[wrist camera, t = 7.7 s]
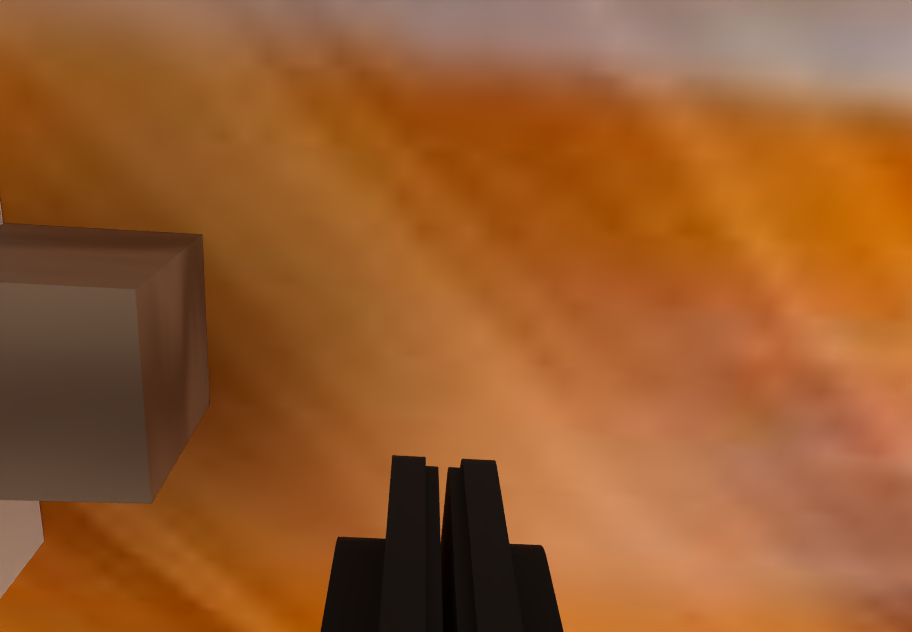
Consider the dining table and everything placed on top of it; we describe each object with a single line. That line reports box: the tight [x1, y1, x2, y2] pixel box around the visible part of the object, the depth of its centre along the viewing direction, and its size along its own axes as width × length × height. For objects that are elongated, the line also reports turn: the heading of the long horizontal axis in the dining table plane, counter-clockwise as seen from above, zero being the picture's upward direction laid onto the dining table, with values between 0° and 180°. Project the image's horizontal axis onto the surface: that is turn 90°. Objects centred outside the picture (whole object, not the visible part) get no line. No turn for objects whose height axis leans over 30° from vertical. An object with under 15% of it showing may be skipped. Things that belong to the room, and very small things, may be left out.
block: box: [0, 223, 210, 504], centre depth 20 cm, size 6×6×6 cm
